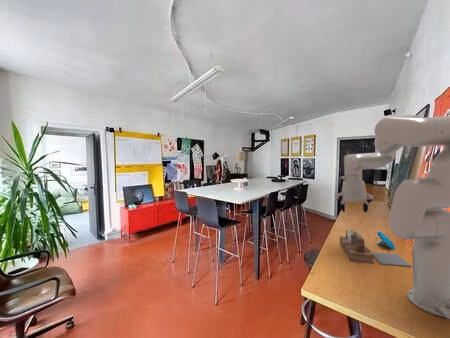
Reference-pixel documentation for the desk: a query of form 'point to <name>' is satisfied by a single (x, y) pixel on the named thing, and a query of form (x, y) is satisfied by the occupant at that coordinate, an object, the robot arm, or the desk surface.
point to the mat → (390, 259)
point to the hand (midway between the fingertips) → (353, 211)
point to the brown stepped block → (356, 250)
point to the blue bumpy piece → (385, 240)
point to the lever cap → (353, 237)
